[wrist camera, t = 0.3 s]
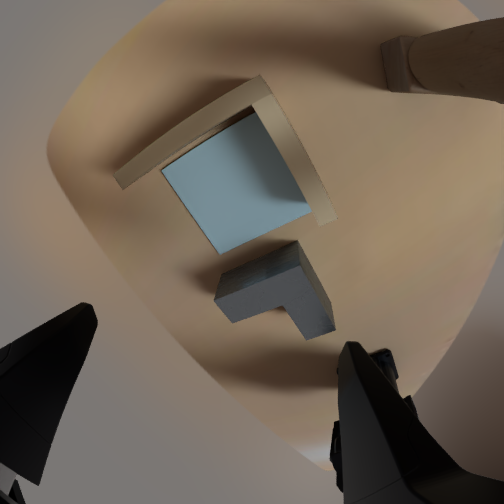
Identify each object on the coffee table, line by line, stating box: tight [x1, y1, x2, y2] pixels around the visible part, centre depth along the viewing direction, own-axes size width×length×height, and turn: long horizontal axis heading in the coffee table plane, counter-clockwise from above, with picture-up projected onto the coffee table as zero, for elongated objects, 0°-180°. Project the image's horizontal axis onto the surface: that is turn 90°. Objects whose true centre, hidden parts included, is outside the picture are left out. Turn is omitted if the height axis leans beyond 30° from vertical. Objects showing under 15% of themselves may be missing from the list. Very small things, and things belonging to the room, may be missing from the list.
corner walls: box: [113, 75, 338, 227], centre depth 18 cm, size 9×11×4 cm
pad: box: [162, 112, 312, 254], centre depth 20 cm, size 8×8×1 cm
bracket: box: [214, 240, 336, 340], centre depth 23 cm, size 7×7×4 cm
